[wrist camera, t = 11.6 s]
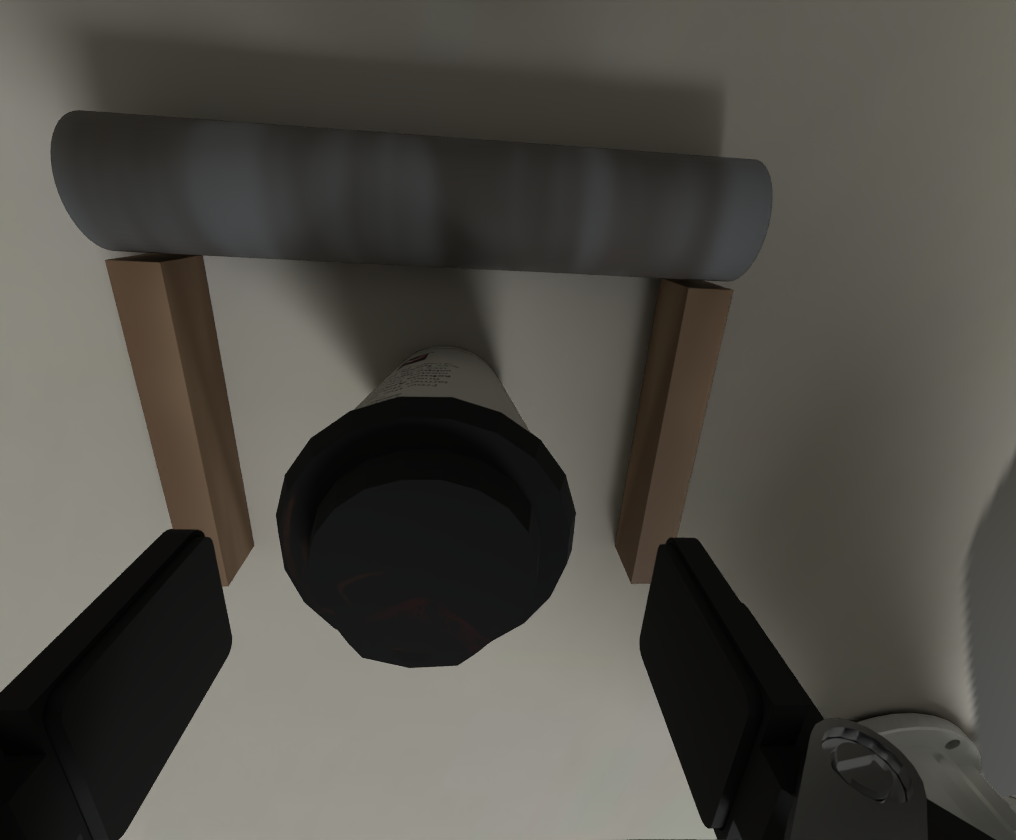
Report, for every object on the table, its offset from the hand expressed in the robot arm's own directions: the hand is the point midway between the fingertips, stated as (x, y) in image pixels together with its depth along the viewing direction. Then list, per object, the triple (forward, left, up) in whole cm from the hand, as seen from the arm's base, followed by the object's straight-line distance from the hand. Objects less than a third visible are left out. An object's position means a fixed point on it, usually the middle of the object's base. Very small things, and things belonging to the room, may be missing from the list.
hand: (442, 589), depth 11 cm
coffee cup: (0, 0, -10) cm, 10 cm away
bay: (+1, -1, -10) cm, 10 cm away
